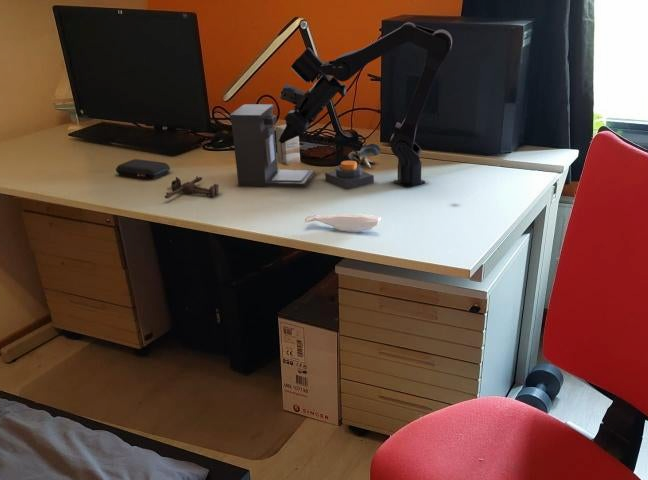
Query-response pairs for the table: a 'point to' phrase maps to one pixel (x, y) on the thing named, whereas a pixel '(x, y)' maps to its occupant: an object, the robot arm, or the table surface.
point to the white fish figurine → (347, 221)
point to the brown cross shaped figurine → (191, 188)
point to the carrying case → (143, 169)
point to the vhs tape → (307, 145)
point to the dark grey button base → (349, 177)
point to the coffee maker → (261, 150)
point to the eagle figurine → (365, 154)
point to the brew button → (348, 165)
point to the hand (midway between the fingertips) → (282, 138)
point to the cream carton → (287, 148)
